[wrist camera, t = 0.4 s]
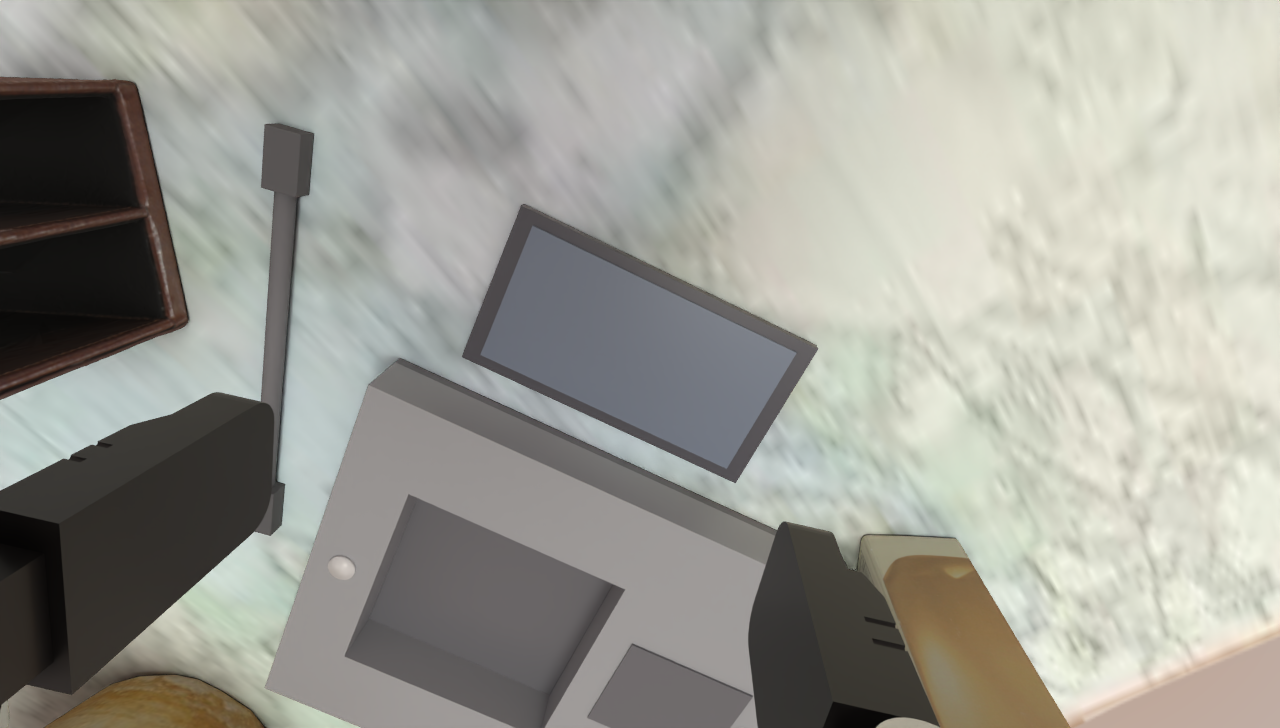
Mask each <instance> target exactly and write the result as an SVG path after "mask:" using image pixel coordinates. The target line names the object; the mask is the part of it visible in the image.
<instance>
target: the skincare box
mask: <svg viewBox="0 0 1280 728" xmlns="http://www.w3.org/2000/svg"><path fill="white" fill-rule="evenodd" d="M857 571H859V572H862V573H863V574H864V575H865V576H866V577H867V578H868V580H869V581H870V582H871V583H872V584H873V585H874V586H875V587H876V588H877V589H878V591H879V592H880V593H881V594H882V595H883V596H884V597H885V599H886V601H887V604H888V606H889V608H890V611H891V613H892V615H893V618H894V620H895V622H896V626H895V628H897V629H899V632H900V634H901V636H902V639H903V641H904V644H905V651H908V653H909V655H910V658H911V660H912V662H913V665H914V667H915V669H916V672H917V674H918V676H919V679H920V681H921V683H922V686H923V688H924V690H925V693H926V695H927V697H928V700H929V702H930V704H931V707H932V709H933V711H934V714H935V716H936V718H937V721H938V723H939V725H940V728H1070V726H1069V724H1068V723H1067V721H1066V719H1065V718H1064V716H1063V714H1062V713H1061V711H1060V710H1059V708H1058V706H1057V704H1056V703H1055V701H1054V699H1053V698H1052V696H1051V695H1050V693H1049V691H1048V690H1047V688H1046V686H1045V685H1044V683H1043V681H1042V680H1041V678H1040V676H1039V675H1038V673H1037V672H1036V670H1035V668H1034V666H1033V665H1032V663H1031V661H1030V660H1029V658H1028V656H1027V655H1026V653H1025V651H1024V650H1023V648H1022V646H1021V645H1020V643H1019V641H1018V640H1017V638H1016V637H1015V635H1014V633H1013V631H1012V630H1011V628H1010V626H1009V625H1008V623H1007V621H1006V620H1005V618H1004V616H1003V615H1002V613H1001V611H1000V610H999V608H998V606H997V605H996V603H995V601H994V600H993V598H992V596H991V595H990V593H989V591H988V590H987V588H986V586H985V585H984V583H983V581H982V580H981V578H980V576H979V575H978V573H977V571H976V570H975V568H974V566H973V565H972V563H971V561H970V559H969V558H968V556H967V554H966V553H965V551H964V549H963V548H962V546H961V544H960V543H959V541H958V540H957V539H954V538H934V537H915V536H882V535H866V536H864V537H863V538H862V540H861V546H860V553H859V561H858V569H857Z"/></svg>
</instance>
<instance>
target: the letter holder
mask: <svg viewBox="0 0 1280 728" xmlns="http://www.w3.org/2000/svg"><path fill="white" fill-rule="evenodd" d="M187 323H188V316H187V309H186V304H185V300H184V295H183V290H182V286H181V281H180V277H179V273H178V268H177V263H176V259H175V254H174V250H173V246H172V241H171V236H170V232H169V228H168V223H167V219H166V215H165V210H164V206H163V201H162V197H161V192H160V188H159V183H158V179H157V174H156V170H155V165H154V161H153V157H152V152H151V148H150V144H149V140H148V133H147V130H146V125H145V121H144V116H143V111H142V107H141V102H140V98H139V93H138V89H137V88H136V86H135V84H134V83H132V82H129V81H124V80H116V79H113V80H78V79H76V80H75V79H53V78H49V79H47V78H19V77H0V400H1V399H4V398H6V397H9V396H11V395H13V394H16V393H18V392H21V391H23V390H26V389H28V388H31V387H33V386H35V385H38V384H41V383H43V382H45V381H48V380H50V379H53V378H55V377H58V376H60V375H63V374H65V373H68V372H70V371H73V370H75V369H78V368H80V367H83V366H87V365H89V364H91V363H94V362H96V361H99V360H101V359H104V358H107V357H109V356H111V355H114V354H116V353H119V352H121V351H124V350H126V349H128V348H131V347H133V346H135V345H137V344H140V343H143V342H145V341H148V340H150V339H153V338H155V337H158V336H161V335H164V334H167V333H170V332H173V331H176V330H178V329H181V328H183V327H184V326H185V325H186V324H187Z"/></svg>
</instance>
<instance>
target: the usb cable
mask: <svg viewBox="0 0 1280 728" xmlns="http://www.w3.org/2000/svg"><path fill="white" fill-rule="evenodd" d="M313 137H314V134H313V133H310V132H306V131H303V130H299V129H296V128H292V127H289V126H286V125H282V124H265V129H264V146H263V164H262V182H261V188H265V189H268V190H271V191H274V206H273V221H272V237H271V253H270V268H269V284H268V299H267V315H266V330H265V346H264V362H263V377H262V393H261V402H264V403H267V404H269V405H270V406H271V408H272V410H273V413H274V445H273V468H272V491H271V498H270V503H269V506H268V509H267V512H266V514H265V516H264V518H263V520H262V522H261V523H260V525H259V526H258V528H257V529H256V530H255V532H258V533H262V534H266V535H269V536H271V535H272V534H273V533H274V532H275V531H276V530H277V529H278V528H279V527H280V526H281V522H282V510H283V498H284V486H285V484H282V483H278V482H275V478H276V465H277V452H278V439H279V426H280V413H281V400H282V387H283V374H284V361H285V348H286V335H287V322H288V309H289V296H290V283H291V270H292V257H293V244H294V231H295V218H296V205H297V197H301V196H305V195H309V186H310V174H311V162H312V150H313Z"/></svg>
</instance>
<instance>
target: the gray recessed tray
mask: <svg viewBox="0 0 1280 728" xmlns="http://www.w3.org/2000/svg"><path fill="white" fill-rule="evenodd" d="M776 532H777V530H774V529H772V528H770V527H768V526H766V525H763V524H761V523H759V522H757V521H755V520H753V519H750V518H748V517H746V516H744V515H742V514H739V513H737V512H735V511H733V510H731V509H728V508H726V507H724V506H722V505H720V504H718V503H715V502H713V501H711V500H709V499H707V498H704V497H702V496H700V495H698V494H696V493H694V492H691V491H689V490H687V489H685V488H683V487H680V486H678V485H676V484H674V483H672V482H670V481H667V480H665V479H663V478H661V477H659V476H656V475H654V474H652V473H650V472H648V471H645V470H643V469H641V468H639V467H637V466H635V465H632V464H630V463H628V462H626V461H624V460H621V459H619V458H617V457H615V456H613V455H611V454H608V453H606V452H604V451H602V450H600V449H597V448H595V447H593V446H591V445H589V444H586V443H584V442H582V441H580V440H578V439H576V438H573V437H571V436H569V435H567V434H565V433H562V432H560V431H558V430H556V429H554V428H552V427H549V426H547V425H545V424H543V423H541V422H538V421H536V420H534V419H532V418H530V417H527V416H525V415H523V414H521V413H519V412H517V411H514V410H512V409H510V408H508V407H506V406H503V405H501V404H499V403H497V402H495V401H493V400H490V399H488V398H486V397H484V396H482V395H479V394H477V393H475V392H473V391H471V390H469V389H466V388H464V387H462V386H460V385H458V384H455V383H453V382H451V381H449V380H447V379H444V378H442V377H440V376H438V375H436V374H434V373H431V372H429V371H427V370H425V369H423V368H420V367H418V366H416V365H414V364H412V363H410V362H407V361H405V360H403V359H401V358H400V359H398V360H397V361H396V362H395V363H394V364H392V365H391V366H390V367H389V368H388V369H386V370H385V371H384V372H383V373H382V374H381V375H379V376H378V377H377V378H376V379H375V380H373V381H372V382H371V383H370V384H369V385H368V387H367V390H366V393H365V396H364V399H363V402H362V405H361V407H360V410H359V413H358V416H357V419H356V422H355V425H354V428H353V431H352V434H351V437H350V440H349V443H348V446H347V448H346V451H345V454H344V457H343V460H342V463H341V466H340V469H339V472H338V475H337V478H336V481H335V484H334V486H333V489H332V492H331V495H330V498H329V501H328V504H327V507H326V510H325V513H324V516H323V519H322V522H321V525H320V527H319V530H318V533H317V536H316V539H315V542H314V545H313V548H312V551H311V554H310V557H309V560H308V563H307V565H306V568H305V571H304V574H303V577H302V580H301V583H300V586H299V589H298V592H297V595H296V598H295V601H294V604H293V606H292V609H291V612H290V615H289V618H288V621H287V624H286V627H285V630H284V633H283V636H282V639H281V642H280V644H279V647H278V650H277V653H276V656H275V659H274V662H273V665H272V668H271V671H270V674H269V677H268V680H267V683H266V685H265V688H266V689H268V690H271V691H273V692H276V693H278V694H280V695H283V696H285V697H288V698H290V699H293V700H295V701H298V702H300V703H302V704H305V705H307V706H310V707H312V708H315V709H317V710H320V711H322V712H324V713H327V714H329V715H332V716H334V717H337V718H339V719H342V720H344V721H347V722H349V723H351V724H354V725H356V726H359V727H361V728H758V726H757V717H756V709H755V700H754V691H753V683H752V674H751V665H750V657H749V648H748V632H749V622H750V616H751V611H752V607H753V603H754V600H755V597H756V594H757V591H758V588H759V584H760V581H761V578H762V575H763V572H764V569H765V566H766V563H767V560H768V557H769V553H770V550H771V547H772V544H773V541H774V538H775V535H776ZM844 564H845V567H846V569H847V565H846V562H844Z"/></svg>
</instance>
